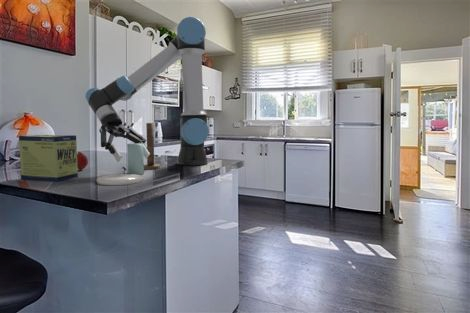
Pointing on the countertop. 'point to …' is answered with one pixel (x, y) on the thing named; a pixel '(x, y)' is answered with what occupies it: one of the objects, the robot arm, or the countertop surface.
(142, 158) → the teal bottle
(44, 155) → the protein box
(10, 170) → the countertop surface
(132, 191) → the countertop surface
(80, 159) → the red fruit
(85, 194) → the countertop surface
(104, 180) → the cream plate
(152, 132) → the walnut post
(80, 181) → the countertop surface
